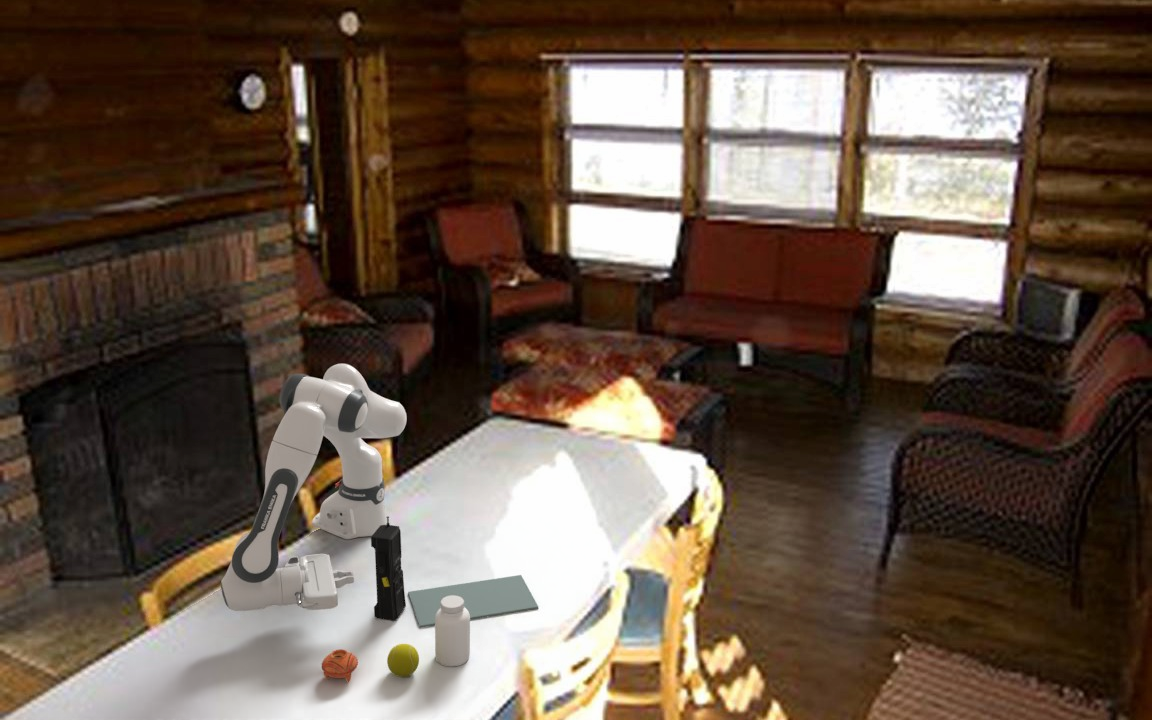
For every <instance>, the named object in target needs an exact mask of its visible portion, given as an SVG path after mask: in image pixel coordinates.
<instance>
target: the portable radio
mask: <svg viewBox="0 0 1152 720" xmlns="http://www.w3.org/2000/svg"><path fill="white" fill-rule="evenodd" d="M386 518H387V525H380V527H379V528H378V529H377V530H376V531H375V533H374V534H373V535H371V536H370V546H371V547H372V548H373V549H374V556H375V557H374V558H375V559H374V560H375V578H376V579H375V580H376V581H375V583H376V604H375V605H374V607H373V615H374V618H375V619H379V620H384V621H392V622H394V621H396V620H398V619H399V617H400V616H401V614H402V613H403V612H404V610H405V608H406V607H407V602H406V595H405V594H406V593H405V582H404V571H403V569H402V536H401V535H402V534H401V533H402V532H401V529H400V526H399V525H391V522H390V523H389V521H390V519H389V518H390V516H388V517H386Z"/></svg>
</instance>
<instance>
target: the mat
mask: <svg viewBox="0 0 1152 720" xmlns="http://www.w3.org/2000/svg"><path fill="white" fill-rule="evenodd" d="M407 594H408V597H409V600H410V603H411V606H412V609H413V611H414V614H415V618H416V621H417V624H418V626H419V628H420V629H421V628H427V627H428V628H429V627H433V626H434V627H435V615H436V613H437V611H438V610H439V609H440V608H441V600H442V599H443V598H444V597H446V596H451V595H455V596H459V597H461V598H462V599H463V600H464V607H465V608H466V609H467V610H468V612H469V614H470V619H471V620H476V619H475V618H478V619H481V618H480V617H484V618H489V617H490V618H491V617H494V616H495V617H496V616H501V615H508V614H513V613H518V612H519V613H520V612H525V611H533V610H537V609H539V605H538V603H537V601H536V599H535V598H534V595H533V594H532V592H531V590H530V588H529V587H528V585H527V583H526V582H525V580H524V577H523V576H522V574H519V575H512V576H505V577H498V578H492V579H485V580H478V581H472V582H465V583H458V584H452V585H445V586H444V585H443V586H440V587H431V588H425V589H417V590H413V591H412V590H411V591H408V593H407ZM487 616H489V617H487Z"/></svg>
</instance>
